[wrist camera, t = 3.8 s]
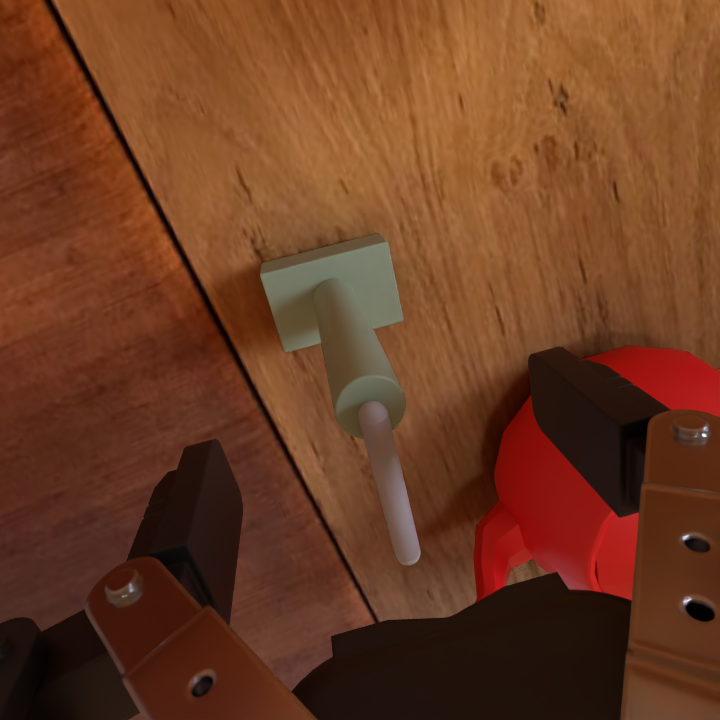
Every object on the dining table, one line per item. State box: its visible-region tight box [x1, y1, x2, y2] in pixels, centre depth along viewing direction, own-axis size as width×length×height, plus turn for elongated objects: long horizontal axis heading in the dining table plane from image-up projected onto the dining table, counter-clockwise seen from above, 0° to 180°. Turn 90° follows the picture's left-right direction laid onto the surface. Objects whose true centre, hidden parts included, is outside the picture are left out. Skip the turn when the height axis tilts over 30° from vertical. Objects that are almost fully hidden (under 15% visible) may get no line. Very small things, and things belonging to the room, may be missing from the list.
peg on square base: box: [260, 233, 421, 565], centre depth 20 cm, size 6×7×15 cm
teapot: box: [474, 346, 720, 603], centre depth 27 cm, size 25×16×12 cm, turn 117°
